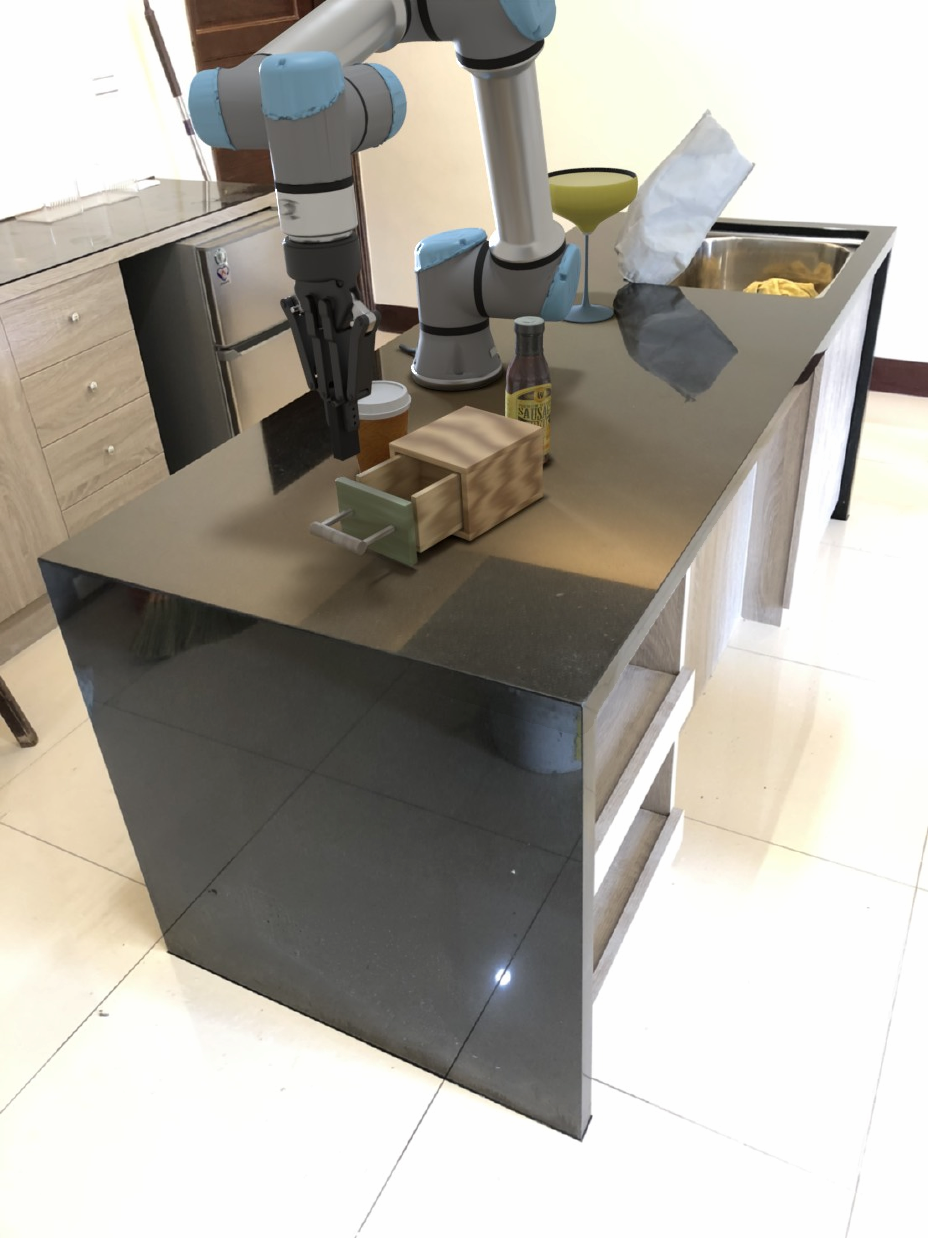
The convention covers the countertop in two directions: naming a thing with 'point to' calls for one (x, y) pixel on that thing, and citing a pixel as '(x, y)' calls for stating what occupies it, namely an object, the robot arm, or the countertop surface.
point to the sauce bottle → (529, 379)
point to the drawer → (396, 509)
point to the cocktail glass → (590, 214)
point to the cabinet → (482, 463)
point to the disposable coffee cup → (381, 422)
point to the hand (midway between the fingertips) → (347, 455)
